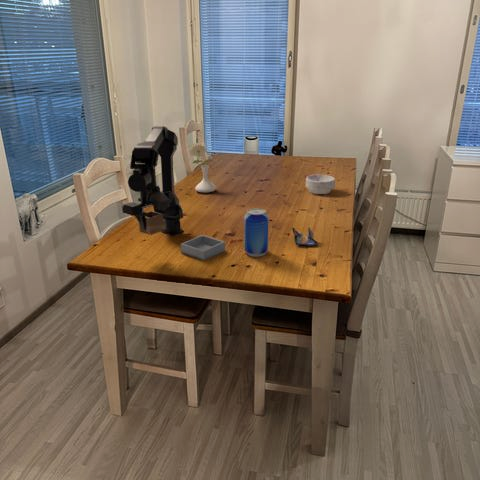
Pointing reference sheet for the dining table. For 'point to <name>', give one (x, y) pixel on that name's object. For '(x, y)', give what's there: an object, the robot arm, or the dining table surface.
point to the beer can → (256, 232)
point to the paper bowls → (320, 184)
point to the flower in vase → (205, 183)
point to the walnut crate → (153, 223)
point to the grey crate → (203, 247)
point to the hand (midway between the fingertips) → (151, 227)
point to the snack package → (309, 240)
